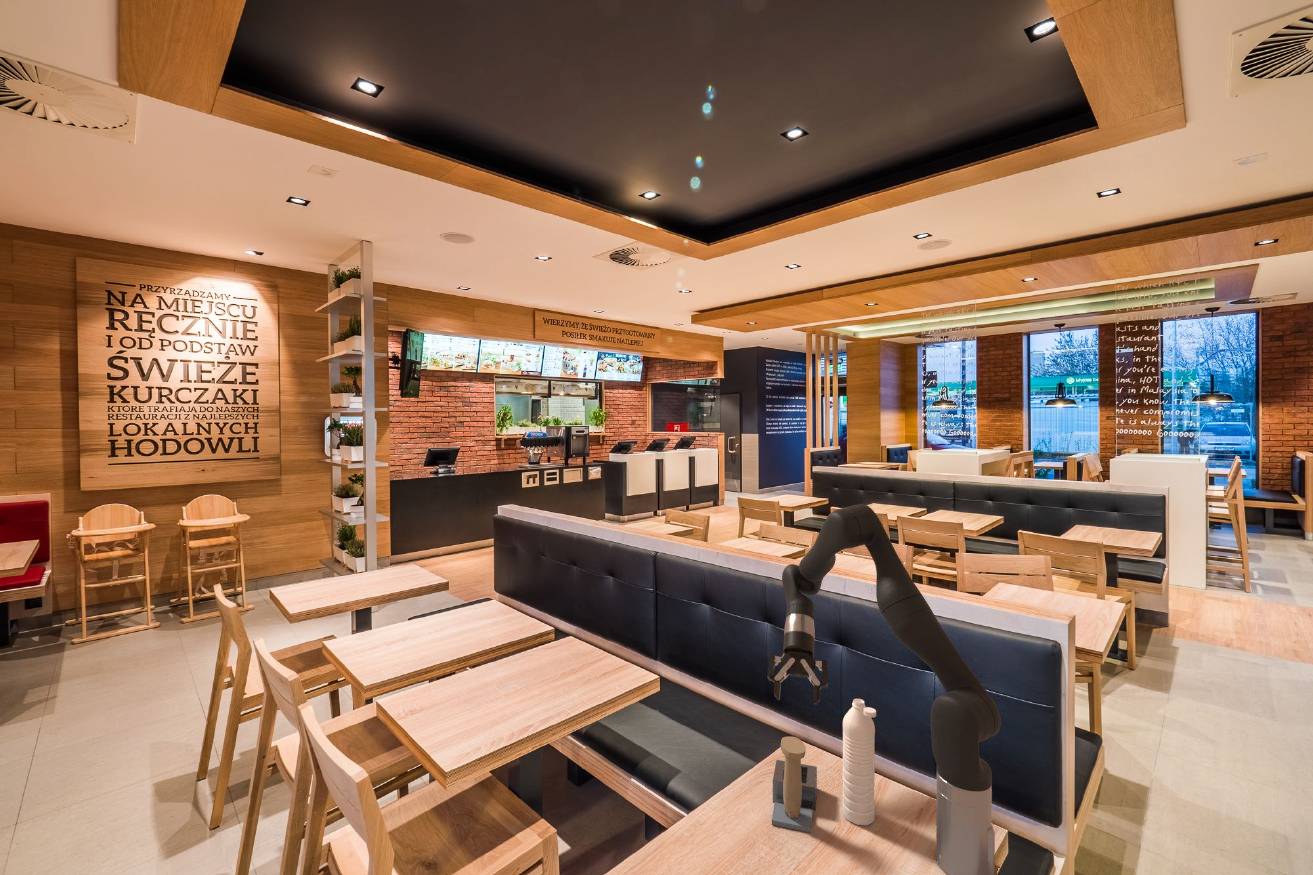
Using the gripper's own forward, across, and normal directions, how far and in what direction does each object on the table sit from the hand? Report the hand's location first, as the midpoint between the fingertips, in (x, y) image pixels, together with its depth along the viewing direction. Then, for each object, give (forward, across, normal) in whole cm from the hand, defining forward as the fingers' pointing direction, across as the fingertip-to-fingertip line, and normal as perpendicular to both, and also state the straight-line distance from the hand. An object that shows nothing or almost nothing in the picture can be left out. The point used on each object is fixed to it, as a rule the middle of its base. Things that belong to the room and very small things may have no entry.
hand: (796, 701), depth 134 cm
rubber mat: (+23, 0, +4) cm, 23 cm away
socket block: (+17, 0, +10) cm, 20 cm away
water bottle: (+20, +14, +7) cm, 26 cm away
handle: (+22, 0, +3) cm, 23 cm away
